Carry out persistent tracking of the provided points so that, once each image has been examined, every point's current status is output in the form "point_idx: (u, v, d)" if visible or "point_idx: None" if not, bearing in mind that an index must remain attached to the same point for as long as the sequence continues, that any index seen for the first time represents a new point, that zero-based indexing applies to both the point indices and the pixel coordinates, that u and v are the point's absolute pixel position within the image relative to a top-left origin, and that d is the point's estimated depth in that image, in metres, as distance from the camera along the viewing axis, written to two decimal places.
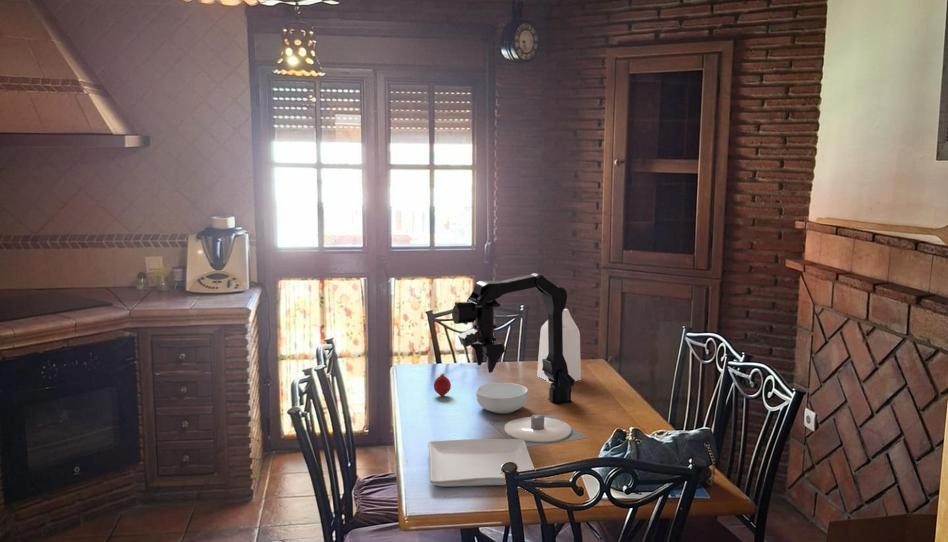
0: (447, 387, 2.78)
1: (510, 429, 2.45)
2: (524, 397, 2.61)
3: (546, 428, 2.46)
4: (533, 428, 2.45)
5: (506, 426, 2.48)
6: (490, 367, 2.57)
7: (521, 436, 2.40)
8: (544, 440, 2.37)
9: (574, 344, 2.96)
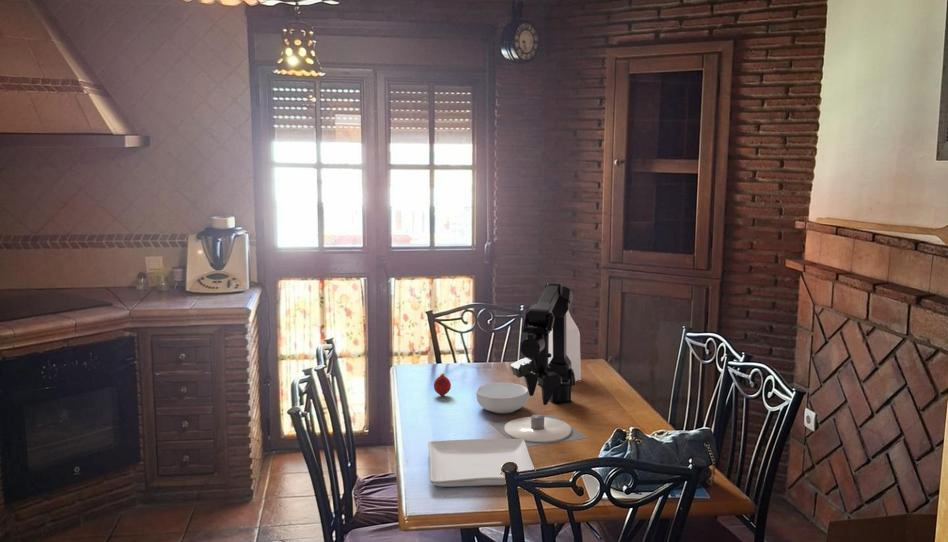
0: (447, 387, 2.78)
1: (510, 430, 2.45)
2: (524, 397, 2.61)
3: (546, 428, 2.46)
4: (533, 428, 2.45)
5: (506, 426, 2.48)
6: (545, 399, 2.40)
7: (521, 436, 2.40)
8: (544, 440, 2.37)
9: (574, 344, 2.96)
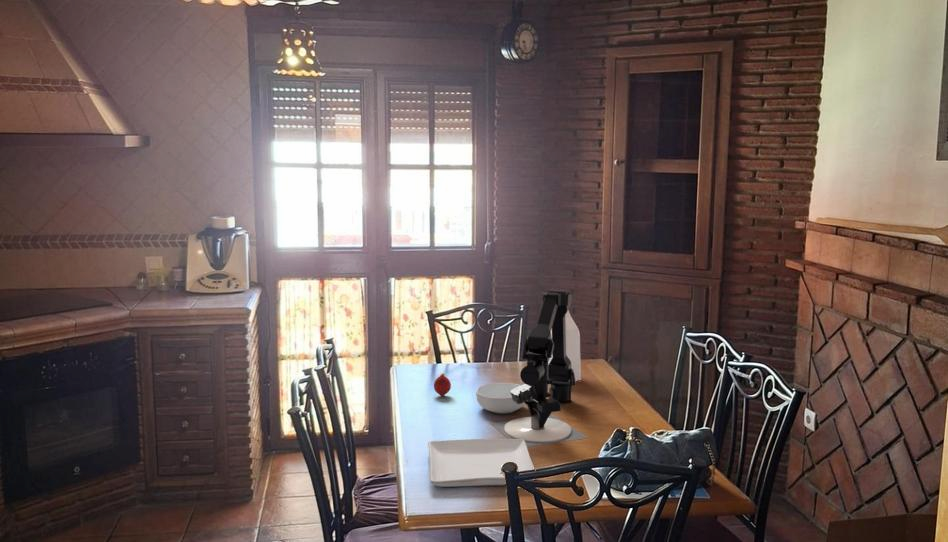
0: (447, 387, 2.78)
1: (510, 429, 2.45)
2: None
3: (546, 428, 2.46)
4: (533, 428, 2.45)
5: (506, 426, 2.48)
6: (540, 423, 2.44)
7: (521, 436, 2.40)
8: (544, 440, 2.37)
9: (574, 344, 2.96)
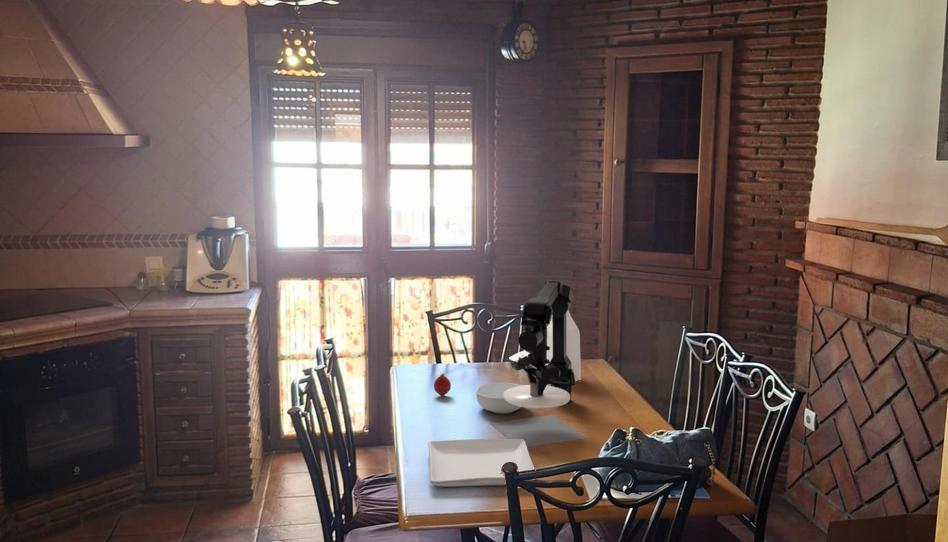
0: (447, 387, 2.78)
1: (509, 396, 2.44)
2: None
3: (545, 395, 2.46)
4: (532, 395, 2.45)
5: (505, 393, 2.47)
6: (539, 389, 2.43)
7: (520, 402, 2.39)
8: (543, 406, 2.37)
9: (574, 344, 2.96)
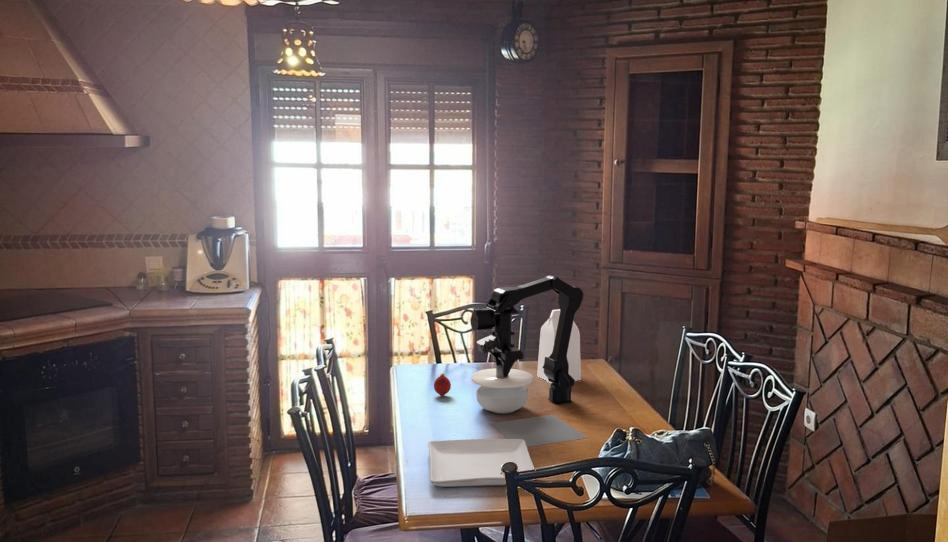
0: (447, 387, 2.78)
1: (476, 378, 2.63)
2: (524, 397, 2.61)
3: (510, 377, 2.64)
4: (498, 377, 2.63)
5: (473, 375, 2.65)
6: (505, 371, 2.61)
7: (486, 383, 2.57)
8: (507, 386, 2.55)
9: (574, 344, 2.96)
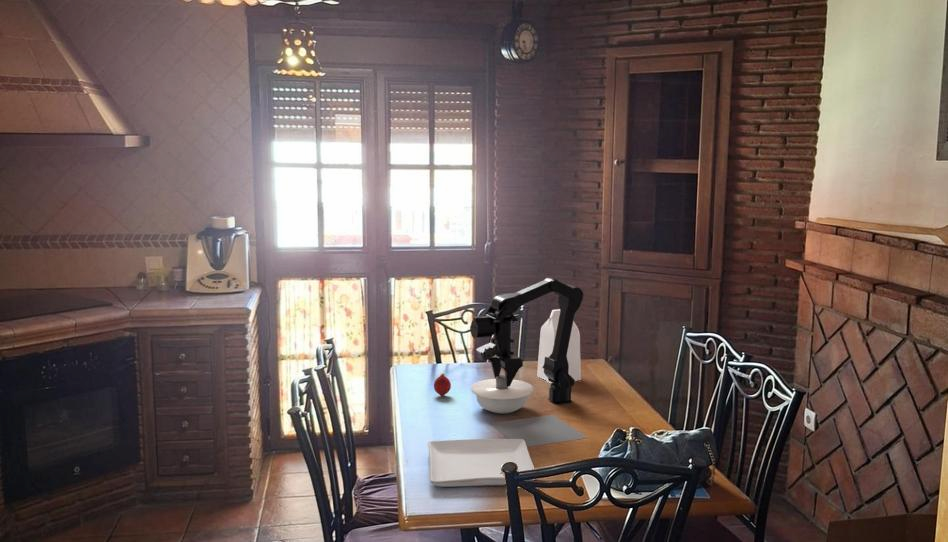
0: (447, 387, 2.78)
1: (476, 389, 2.63)
2: (524, 397, 2.61)
3: (510, 388, 2.65)
4: (497, 387, 2.64)
5: (473, 386, 2.66)
6: (508, 381, 2.60)
7: (486, 394, 2.58)
8: (506, 397, 2.55)
9: (574, 344, 2.96)
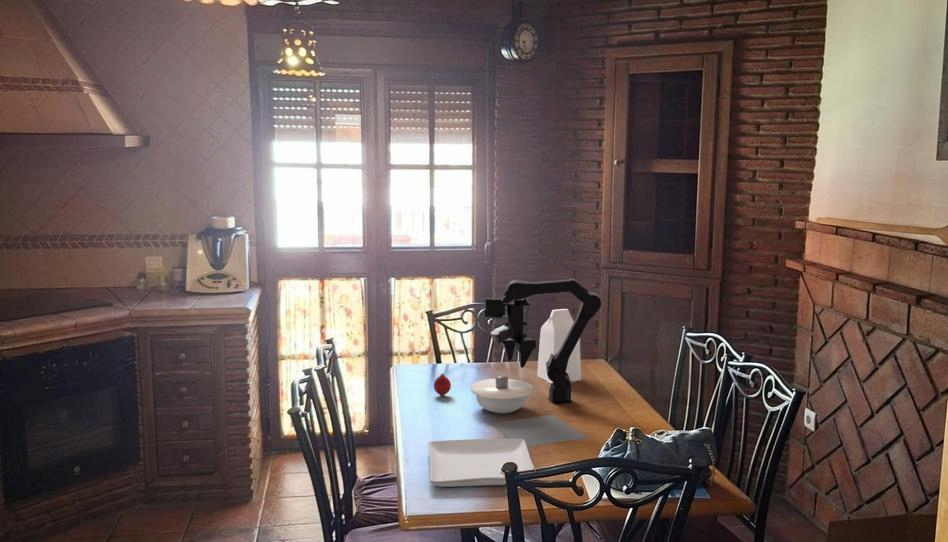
0: (447, 387, 2.78)
1: (476, 388, 2.63)
2: (523, 397, 2.61)
3: (509, 387, 2.65)
4: (497, 387, 2.64)
5: (472, 386, 2.66)
6: (522, 362, 2.69)
7: (485, 394, 2.58)
8: (506, 397, 2.55)
9: None
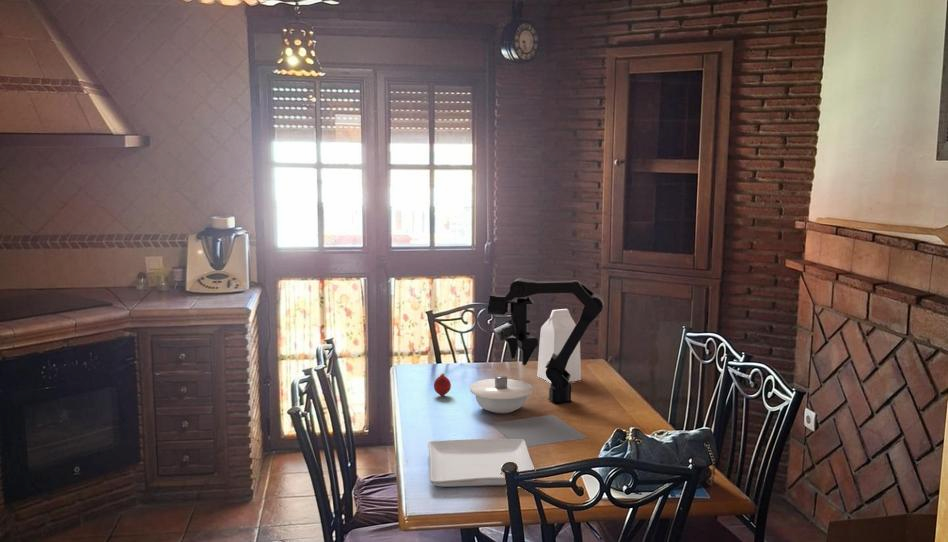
0: (447, 387, 2.78)
1: (475, 389, 2.63)
2: (523, 397, 2.61)
3: (509, 387, 2.65)
4: (496, 387, 2.64)
5: (472, 386, 2.66)
6: (524, 360, 2.71)
7: (485, 394, 2.58)
8: (506, 397, 2.56)
9: None
